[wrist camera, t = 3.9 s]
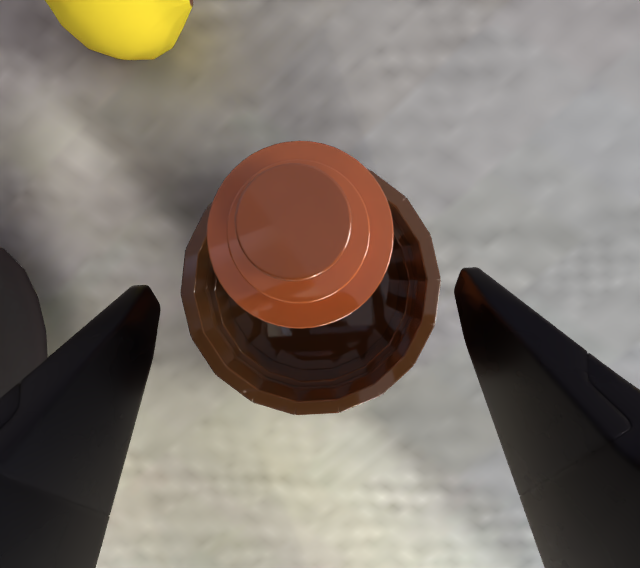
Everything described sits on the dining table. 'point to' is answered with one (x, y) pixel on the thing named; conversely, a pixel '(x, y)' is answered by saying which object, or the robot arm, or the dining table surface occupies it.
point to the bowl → (319, 328)
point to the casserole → (18, 325)
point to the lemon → (124, 25)
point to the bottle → (300, 234)
